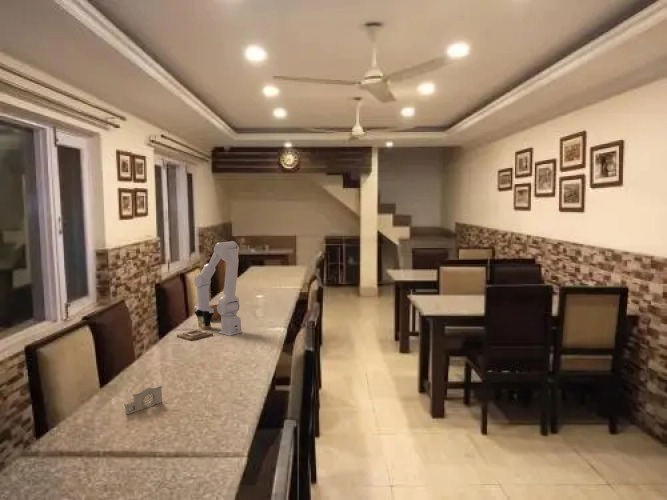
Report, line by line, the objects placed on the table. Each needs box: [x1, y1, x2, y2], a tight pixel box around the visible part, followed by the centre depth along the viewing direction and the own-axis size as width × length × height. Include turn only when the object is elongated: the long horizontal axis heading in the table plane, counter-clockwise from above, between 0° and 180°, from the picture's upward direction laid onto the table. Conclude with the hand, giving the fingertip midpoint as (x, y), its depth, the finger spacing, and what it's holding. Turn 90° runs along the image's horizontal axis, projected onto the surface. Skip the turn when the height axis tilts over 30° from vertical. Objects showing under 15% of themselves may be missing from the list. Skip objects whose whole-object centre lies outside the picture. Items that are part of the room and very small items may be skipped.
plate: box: [176, 329, 214, 342], centre depth 235 cm, size 12×12×2 cm
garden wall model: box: [123, 385, 163, 415], centre depth 151 cm, size 12×2×6 cm, turn 141°
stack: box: [197, 316, 212, 331], centre depth 250 cm, size 4×4×6 cm
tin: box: [209, 303, 221, 322], centre depth 270 cm, size 15×3×8 cm, turn 143°
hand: (204, 325), depth 250 cm, fingers closed on stack, 4 cm apart
